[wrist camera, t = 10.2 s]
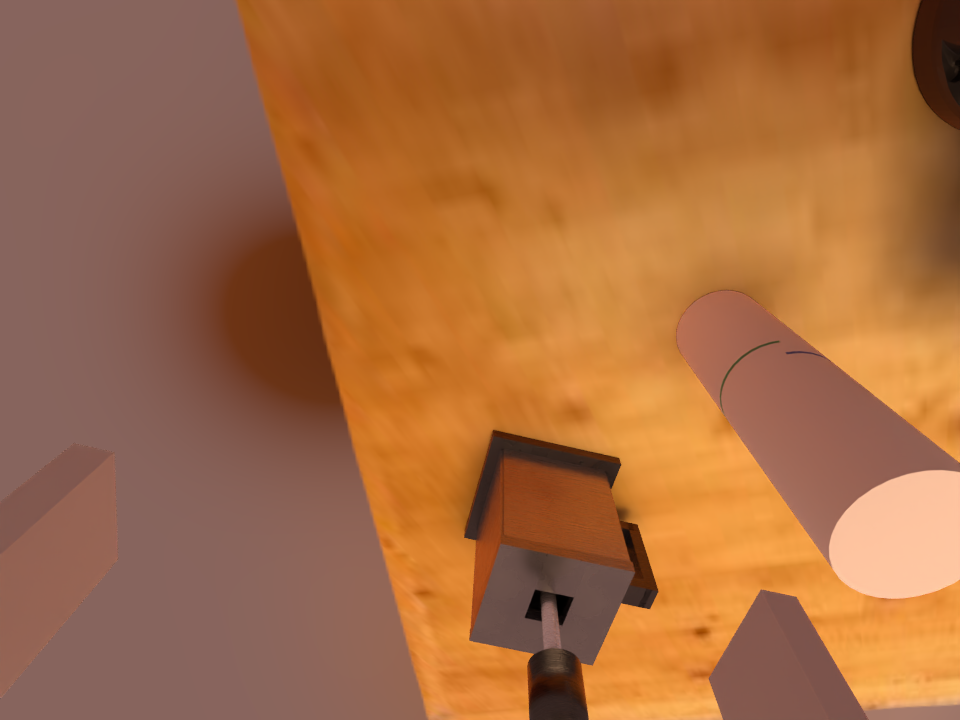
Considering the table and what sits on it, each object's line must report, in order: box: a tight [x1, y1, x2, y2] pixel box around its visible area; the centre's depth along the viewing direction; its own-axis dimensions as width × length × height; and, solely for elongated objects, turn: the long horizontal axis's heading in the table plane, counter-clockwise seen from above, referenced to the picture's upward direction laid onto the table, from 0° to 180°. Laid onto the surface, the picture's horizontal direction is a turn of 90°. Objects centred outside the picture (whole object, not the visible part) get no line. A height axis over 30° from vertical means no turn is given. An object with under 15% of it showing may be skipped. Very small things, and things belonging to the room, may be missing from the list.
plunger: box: [527, 590, 589, 720], centre depth 44 cm, size 8×8×22 cm
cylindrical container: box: [676, 290, 960, 599], centre depth 37 cm, size 7×7×25 cm
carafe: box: [464, 430, 658, 665], centre depth 50 cm, size 15×12×14 cm
